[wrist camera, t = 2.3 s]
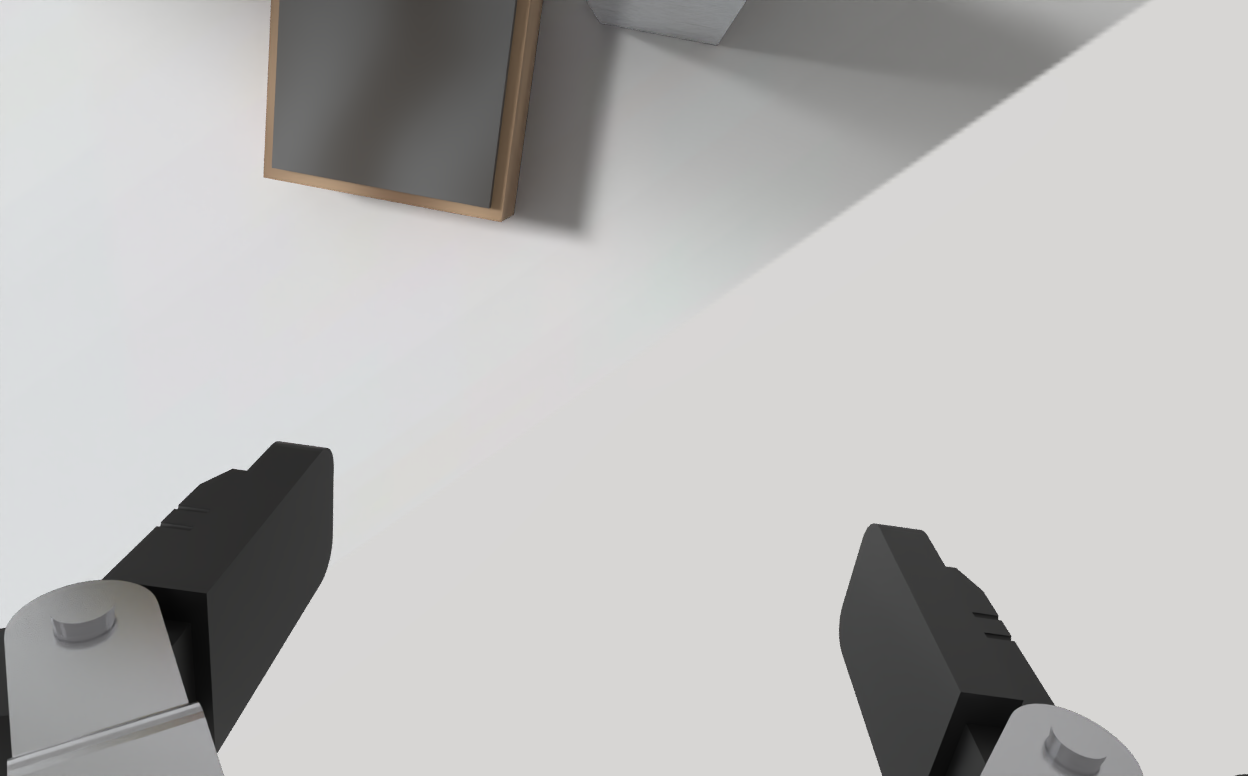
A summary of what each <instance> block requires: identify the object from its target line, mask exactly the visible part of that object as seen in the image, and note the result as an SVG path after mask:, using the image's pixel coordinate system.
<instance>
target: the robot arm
mask: <svg viewBox="0 0 1248 776" xmlns="http://www.w3.org/2000/svg"><path fill="white" fill-rule="evenodd" d="M333 473H334V463H333V455H332V452H331V450H330V449H328V448H323V447H316V446H309V445H302V444H295V443H288V442H280V441H277V442H275V443H273V444H272V445H271V446H270V447H269V448H268V449H267V450H266V451H265V452H264V453H263V455H262V456H261V457H260V458H259V459H258V460H257V461H256V462H255V463H254V464H253V465H252V466H251V467H250V468H249V469H248V470H247V471H244V470H237V469H231V470H229V471H227V472H225V473H223V474H221V475H219V476H217V477H214V478H212V479H210V480H208V481H206V482H204V483H202V484H200V485H199V486H198V487H197V488H196V489H195V490H194V491H193V492H192V493H190V494H189V495H188V496H187V497H186V498H185V499H184V500H183V501H182V502H181V503H180V504H179V507H178V509H174V510H173V511H172V512H171V513H170V514H169V515H168V516H167V517H166V518H165V519H164V520H163V521H162V522H161V526H160V527H157V526H156V527H155V528H154V529H153V530H152V531H151V532H150V533H149V534H148V535H147V536H146V537H145V538H144V539H143V540H142V541H141V542H140V543H139V544H138V545H137V546H136V547H135V548H134V549H133V550H132V551H131V552H130V553H129V554H128V555H127V556H126V557H125V558H124V559H122V560H121V561H120V562H119V563H118V564H117V565H116V566H115V567H114V568H113V569H112V570H111V571H110V572H109V573H108V574H107V575H106V576H105V577H104V578H103V579H102V580H95V581H87V582H81V583H76V584H72V585H68V586H64V587H62V588H59V589H56V590H53V591H51V592H48V593H46V594H44V595H42V596H40V597H38V598H36V599H34V600H33V601H31V602H29V603H28V604H27V605H25V606H24V607H22V608H21V609H20V610H19V611H18V612H17V613H16V614H15V615H14V616H13V617H12V619H11V620H10V621H9V623H8V625H7V627H6V628H2V629H0V776H224V774H223V771H222V768H221V765H220V762H219V759H218V756H217V753H218V751H219V749H220V748H221V746H222V744H223V743H224V741H225V739H226V738H227V736H228V734H229V733H230V731H231V730H232V728H233V726H234V725H235V723H236V722H237V720H238V718H239V717H240V715H241V713H242V712H243V710H244V708H245V707H246V705H247V703H248V702H249V700H250V699H251V697H252V695H253V694H254V692H255V690H256V689H257V687H258V685H259V684H260V682H261V681H262V679H263V677H264V676H265V674H266V672H267V671H268V669H269V667H270V666H271V664H272V663H273V661H274V659H275V658H276V656H277V654H278V653H279V651H280V649H281V648H282V646H283V644H284V643H285V641H286V640H287V638H288V636H289V635H290V633H291V631H292V630H293V628H294V626H295V625H296V623H297V621H298V620H299V618H300V617H301V615H302V613H303V612H304V610H305V608H306V607H307V605H308V604H309V602H310V600H311V599H312V597H313V595H314V594H315V592H316V590H317V589H318V587H319V586H320V584H321V582H322V580H323V578H324V576H325V573H326V570H327V567H328V564H329V560H330V555H331V549H332V539H333ZM839 639H840V647H841V651H842V654H843V657H844V661H845V664H846V666H847V670H848V673H849V676H850V679H851V682H852V685H853V688H854V691H855V694H856V697H857V700H858V703H859V706H860V709H861V712H862V715H863V718H864V721H865V724H866V727H867V730H868V733H869V737H870V739H871V743H872V745H873V749H874V752H875V755H876V758H877V761H878V764H879V767H880V770H881V773H882V776H1143V773H1142V770H1141V768H1140V766H1139V764H1138V762H1137V761H1136V759H1135V758H1134V756H1133V755H1132V754H1131V752H1130V751H1129V750H1128V749H1127V748H1126V746H1124V745H1123V744H1122V743H1121V742H1120V741H1119V740H1118V739H1117V738H1116V737H1115V736H1113V735H1112V734H1111V733H1109V731H1107V730H1106V729H1104V728H1103V727H1101V726H1100V725H1098V724H1097V723H1095V722H1093V721H1091V720H1090V719H1088V718H1086V717H1084V716H1082V715H1080V714H1078V713H1075V712H1073V711H1070V710H1067V709H1065V708H1061V707H1057V706H1055V705H1054V703H1053V702H1052V700H1051V699H1050V697H1049V696H1048V694H1047V692H1046V691H1045V689H1044V687H1043V686H1042V684H1041V683H1040V681H1039V679H1038V678H1037V676H1036V675H1035V673H1034V672H1033V670H1032V668H1031V667H1030V665H1029V664H1028V662H1027V660H1026V659H1025V657H1024V656H1023V654H1022V652H1021V651H1020V649H1019V648H1018V646H1017V645H1016V643H1015V642H1014V641H1011V635H1010V633H1009V632H1008V630H1007V629H1006V627H1005V625H1004V624H1003V622H1002V621H1000V620H998V614H997V613H996V611H995V609H994V608H993V606H992V605H991V603H990V602H989V600H988V598H987V597H986V595H985V594H984V592H983V591H982V590H981V589H980V588H979V587H977V586H976V585H975V584H974V583H973V582H972V581H970V580H969V579H968V578H967V577H966V576H965V575H964V574H962V573H961V572H960V571H959V570H958V569H957V568H952V567H945V565H944V563H943V562H942V560H941V558H940V557H939V555H938V553H937V551H936V550H935V548H934V546H933V544H932V543H931V541H930V540H929V538H928V536H927V534H926V533H925V532H924V531H922V530H917V529H909V528H903V527H896V526H888V525H881V524H871V525H870V526H869V527H868V528H867V530H866V532H865V534H864V537H863V540H862V543H861V546H860V550H859V553H858V556H857V560H856V563H855V566H854V569H853V573H852V576H851V580H850V583H849V586H848V589H847V593H846V596H845V599H844V603H843V606H842V610H841V615H840V625H839ZM1237 776H1248V774H1247V775H1246V774H1243V775H1237Z"/></svg>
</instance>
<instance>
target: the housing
mask: <svg viewBox="0 0 1248 776" xmlns="http://www.w3.org/2000/svg"><path fill="white" fill-rule="evenodd" d="M586 1H587V3H588V4H589V6H590V8H591V9H592V11H593V12H594V14H595V16H596V17H597V19H598V20H599V22H600V23H602V24H608V25H613V26H618V27H623V28H629V29H634V30H639V31H644V32H649V33H655V34H660V35H665V36H670V37H676V38H681V39H686V40H691V41H697V42H702V43H707V44H712V45H718V43H719V42H720V40H721V39H722V37H723V36H724V34H725V33H726V31H727V30H728V28H729V26H730V25H731V23H732V22H733V20H734V19H735V17H736V16H737V14H738V13H739V11H740V10H741V8H742V6H743V5H744V3H745V2H746V0H586Z"/></svg>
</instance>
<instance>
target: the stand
mask: <svg viewBox="0 0 1248 776" xmlns="http://www.w3.org/2000/svg"><path fill="white" fill-rule="evenodd" d="M542 4H543V0H271V17H270V40H269V63H268V86H267V109H266V131H265V154H264V177H265V178H270V179H275V180H280V181H286V182H291V183H296V184H302V185H307V186H312V187H318V188H323V189H328V190H334V191H339V192H344V193H350V194H355V195H360V196H366V197H371V198H376V199H382V200H387V201H392V202H397V203H403V204H408V205H413V206H419V207H424V208H429V209H435V210H440V211H445V212H451V213H456V214H461V215H467V216H472V217H477V218H483V219H488V220H493V221H499V222H502V221H504V220H505V219H507V218H509V217H511V216H512V215H514V208H515V201H516V194H517V187H518V179H519V172H520V165H521V157H522V150H523V143H524V135H525V128H526V121H527V113H528V106H529V99H530V91H531V84H532V77H533V70H534V62H535V55H536V48H537V40H538V33H539V26H540V18H541V11H542Z"/></svg>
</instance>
